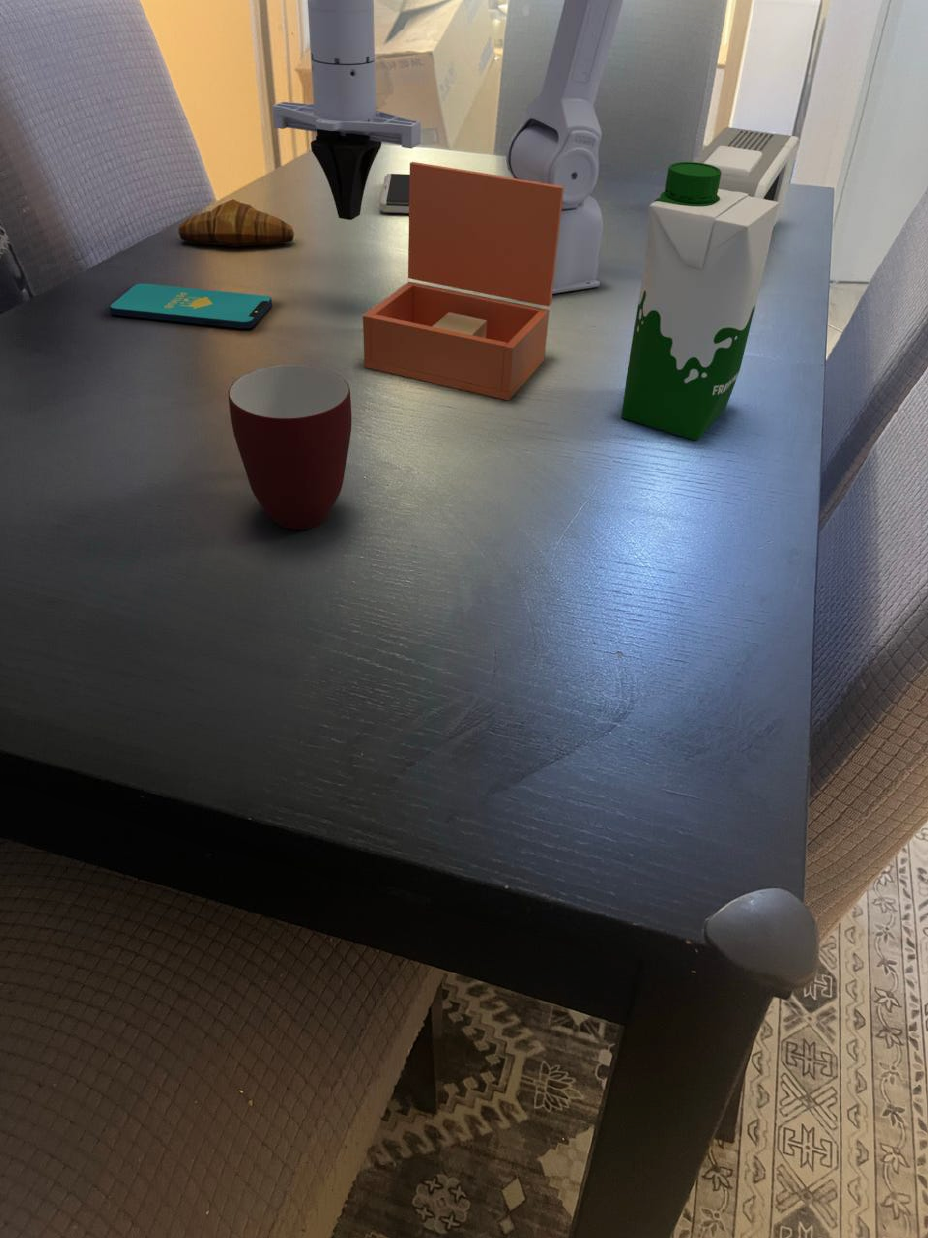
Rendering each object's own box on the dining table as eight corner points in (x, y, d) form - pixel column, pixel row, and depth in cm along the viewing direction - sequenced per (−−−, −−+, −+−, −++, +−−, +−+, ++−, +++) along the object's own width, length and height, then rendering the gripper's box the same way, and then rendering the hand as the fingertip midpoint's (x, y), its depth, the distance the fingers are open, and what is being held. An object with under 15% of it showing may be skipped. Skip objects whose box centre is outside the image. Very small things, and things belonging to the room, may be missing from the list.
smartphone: (137, 280, 101) (273, 294, 99) (138, 288, 101) (274, 302, 100) (106, 307, 95) (250, 322, 94) (108, 315, 96) (251, 330, 94)
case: (508, 400, 85) (512, 347, 82) (364, 367, 89) (362, 315, 86) (544, 359, 92) (549, 309, 89) (408, 330, 96) (408, 280, 93)
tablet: (585, 223, 124) (587, 209, 123) (378, 215, 124) (378, 200, 123) (575, 192, 135) (577, 179, 134) (384, 185, 134) (384, 171, 133)
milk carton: (646, 382, 89) (687, 151, 76) (739, 410, 86) (798, 172, 73) (606, 419, 83) (643, 175, 70) (704, 449, 80) (761, 199, 67)
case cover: (562, 187, 82) (564, 185, 82) (409, 162, 86) (412, 161, 86) (549, 306, 88) (551, 304, 89) (407, 278, 92) (410, 276, 93)
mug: (251, 469, 74) (237, 348, 68) (355, 468, 75) (350, 348, 69) (238, 548, 66) (221, 419, 60) (355, 546, 67) (349, 418, 61)
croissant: (296, 234, 117) (293, 191, 114) (292, 253, 112) (289, 209, 108) (184, 232, 116) (178, 189, 113) (175, 251, 111) (168, 206, 107)
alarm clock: (741, 290, 108) (766, 179, 101) (661, 275, 111) (680, 166, 103) (779, 223, 128) (802, 125, 120) (710, 211, 130) (729, 116, 123)
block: (465, 370, 88) (466, 339, 86) (425, 361, 89) (426, 330, 87) (485, 350, 91) (487, 319, 89) (447, 341, 92) (448, 311, 90)
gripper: (249, 56, 84) (264, 215, 93) (396, 75, 80) (397, 240, 89) (290, 44, 89) (301, 196, 98) (431, 62, 85) (429, 219, 94)
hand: (349, 216), depth 94 cm, fingers closed
